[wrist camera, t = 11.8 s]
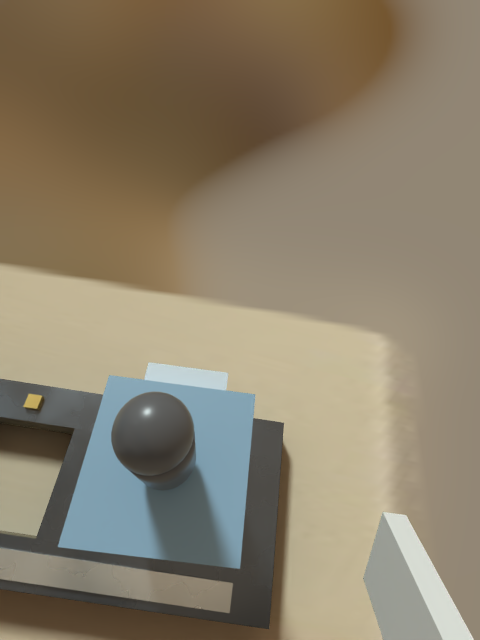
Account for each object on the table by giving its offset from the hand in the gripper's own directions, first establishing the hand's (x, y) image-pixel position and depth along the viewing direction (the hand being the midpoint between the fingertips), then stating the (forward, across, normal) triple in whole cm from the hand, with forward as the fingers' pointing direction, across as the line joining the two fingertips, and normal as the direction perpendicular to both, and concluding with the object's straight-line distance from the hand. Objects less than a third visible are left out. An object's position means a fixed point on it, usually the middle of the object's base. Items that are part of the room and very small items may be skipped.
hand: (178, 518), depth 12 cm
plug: (+8, 0, -7) cm, 11 cm away
